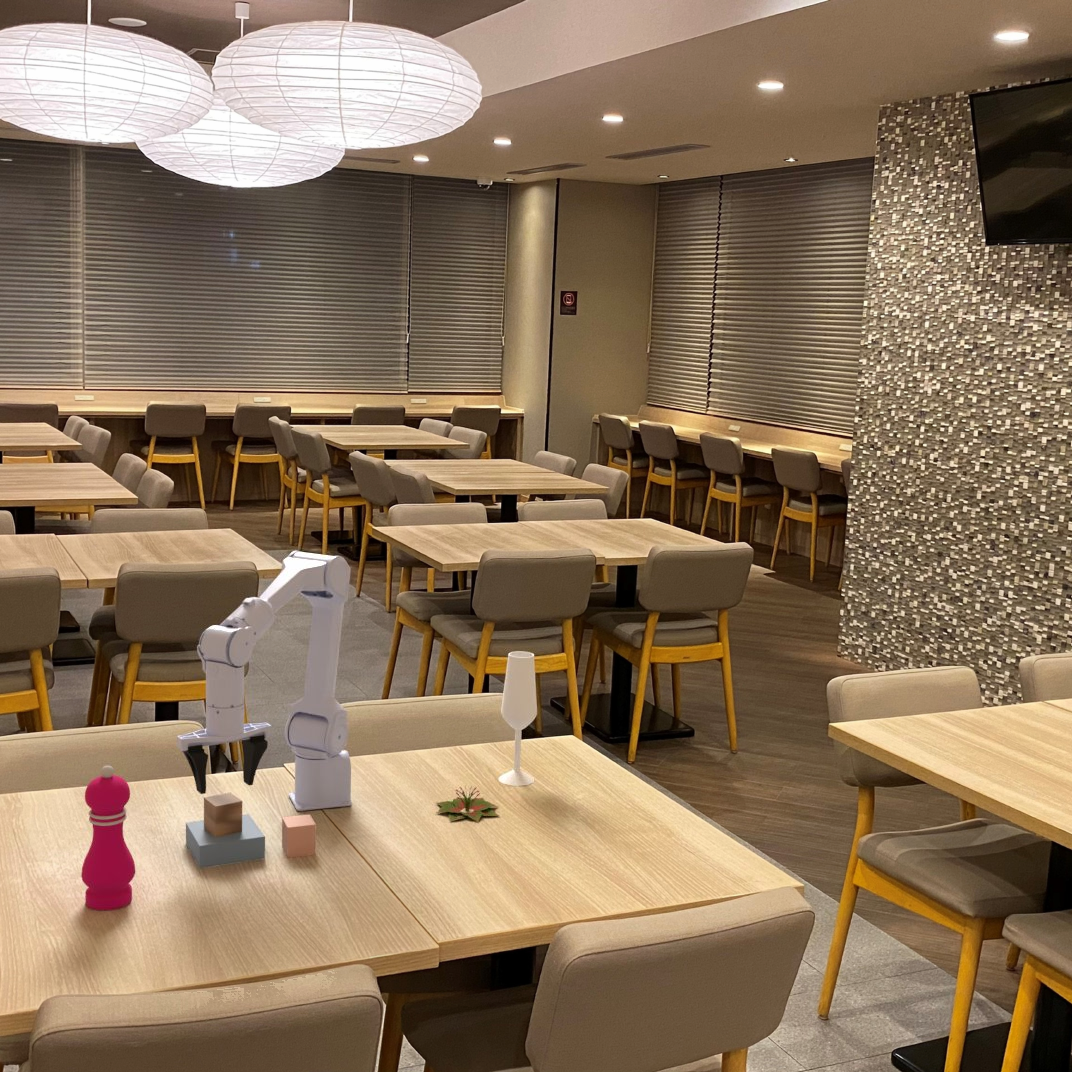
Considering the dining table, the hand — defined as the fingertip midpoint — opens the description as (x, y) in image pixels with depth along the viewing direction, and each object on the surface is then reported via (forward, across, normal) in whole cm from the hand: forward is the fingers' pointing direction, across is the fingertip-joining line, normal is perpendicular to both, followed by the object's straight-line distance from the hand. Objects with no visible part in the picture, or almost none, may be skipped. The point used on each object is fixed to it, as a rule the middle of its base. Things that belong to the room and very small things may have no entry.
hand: (224, 787), depth 195 cm
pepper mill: (+11, +20, +9) cm, 25 cm away
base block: (+11, 0, 0) cm, 11 cm away
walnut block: (+7, 0, 0) cm, 7 cm away
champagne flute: (+11, -59, -5) cm, 60 cm away
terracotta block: (+10, -10, +6) cm, 16 cm away
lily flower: (+11, -42, +4) cm, 44 cm away
